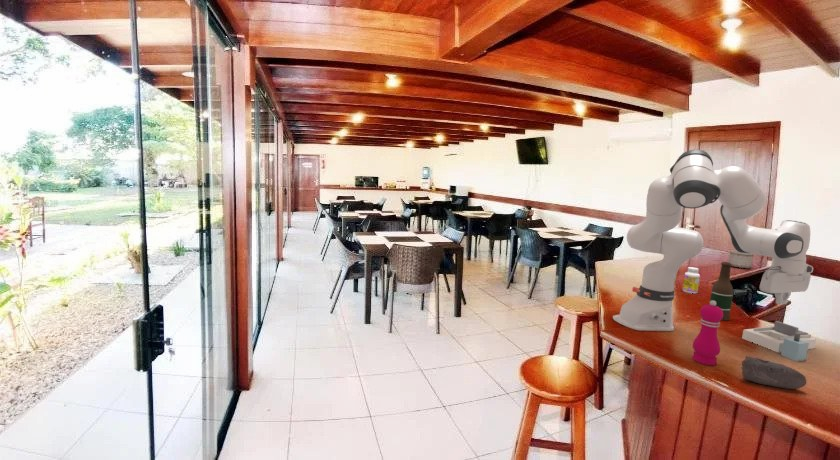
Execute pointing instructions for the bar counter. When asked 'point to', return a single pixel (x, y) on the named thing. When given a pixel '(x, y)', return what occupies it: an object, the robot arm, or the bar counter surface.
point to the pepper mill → (708, 335)
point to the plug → (795, 348)
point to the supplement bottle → (691, 280)
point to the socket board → (773, 338)
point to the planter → (740, 259)
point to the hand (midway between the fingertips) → (780, 303)
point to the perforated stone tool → (771, 374)
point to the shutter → (787, 329)
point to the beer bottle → (723, 290)
